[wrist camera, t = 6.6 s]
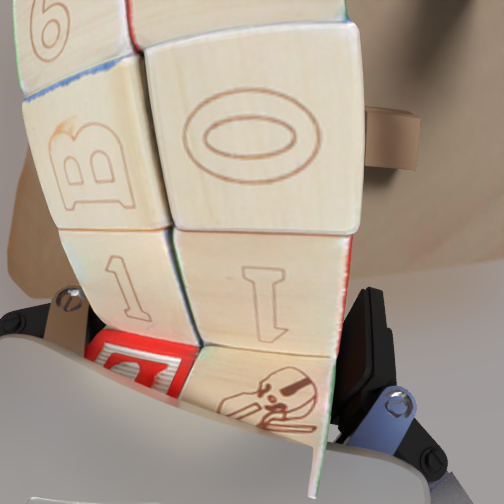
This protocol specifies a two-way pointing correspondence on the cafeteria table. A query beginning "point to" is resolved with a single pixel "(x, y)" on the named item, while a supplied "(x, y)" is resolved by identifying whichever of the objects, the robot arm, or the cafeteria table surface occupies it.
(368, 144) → the walnut cube
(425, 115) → the cafeteria table surface
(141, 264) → the stack of blocks
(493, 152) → the cafeteria table surface
